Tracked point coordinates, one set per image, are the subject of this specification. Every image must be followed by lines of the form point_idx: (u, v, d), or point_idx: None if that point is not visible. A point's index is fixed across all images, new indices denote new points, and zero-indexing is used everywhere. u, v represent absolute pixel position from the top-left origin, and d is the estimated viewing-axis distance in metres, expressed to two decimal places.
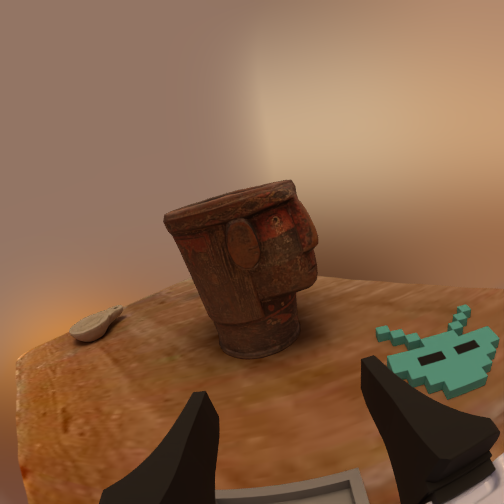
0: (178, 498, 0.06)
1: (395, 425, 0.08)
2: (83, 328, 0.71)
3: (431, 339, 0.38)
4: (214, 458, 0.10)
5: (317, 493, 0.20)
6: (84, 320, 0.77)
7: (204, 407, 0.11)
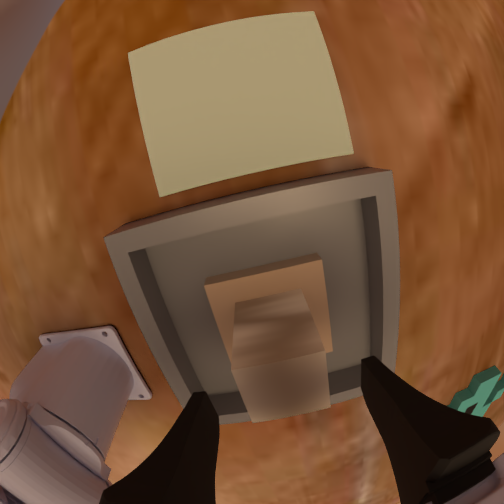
0: (178, 498, 0.06)
1: (395, 425, 0.08)
2: None
3: (483, 412, 0.25)
4: (214, 458, 0.10)
5: (373, 334, 0.19)
6: None
7: (204, 407, 0.11)
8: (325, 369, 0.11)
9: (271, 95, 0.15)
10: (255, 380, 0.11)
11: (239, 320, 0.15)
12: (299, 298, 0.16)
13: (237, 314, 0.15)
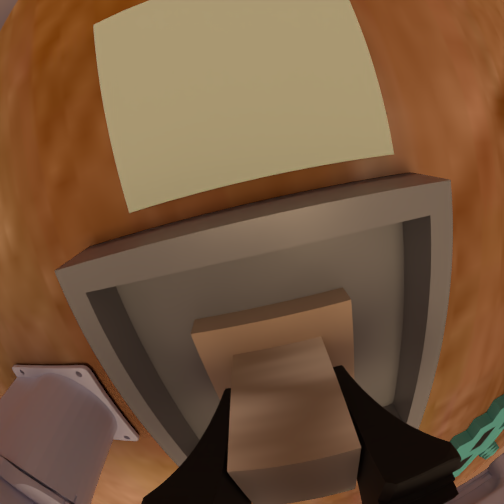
0: (225, 499, 0.06)
1: None
2: None
3: (498, 433, 0.20)
4: None
5: (401, 378, 0.14)
6: None
7: None
8: (356, 462, 0.07)
9: (283, 70, 0.10)
10: (261, 479, 0.07)
11: (238, 386, 0.10)
12: (320, 354, 0.11)
13: (236, 375, 0.11)
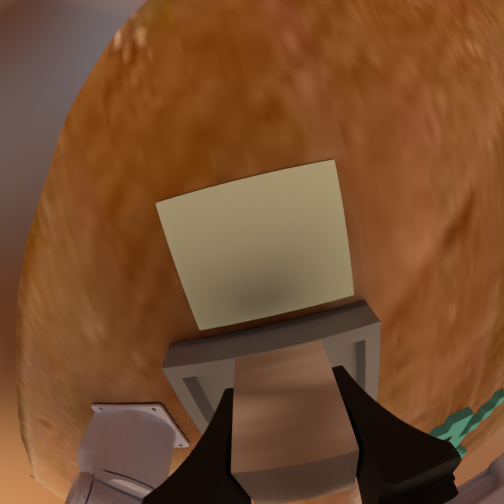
0: (224, 499, 0.06)
1: None
2: None
3: (459, 440, 0.29)
4: None
5: None
6: None
7: None
8: (355, 463, 0.07)
9: (290, 255, 0.19)
10: (263, 479, 0.07)
11: (241, 390, 0.10)
12: (320, 357, 0.11)
13: (238, 379, 0.11)
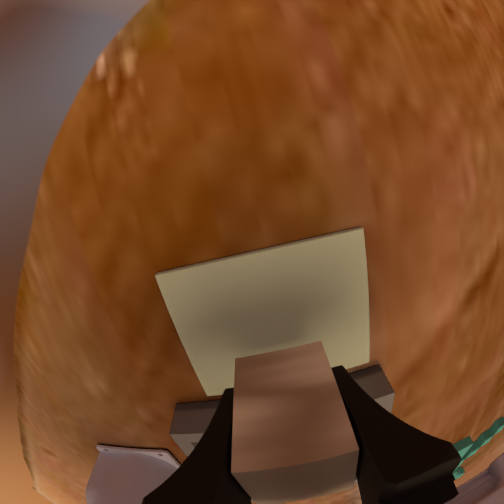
0: (225, 499, 0.06)
1: None
2: None
3: None
4: None
5: None
6: None
7: None
8: (355, 463, 0.07)
9: (306, 330, 0.17)
10: (263, 479, 0.07)
11: (241, 390, 0.10)
12: (320, 358, 0.11)
13: (238, 379, 0.11)
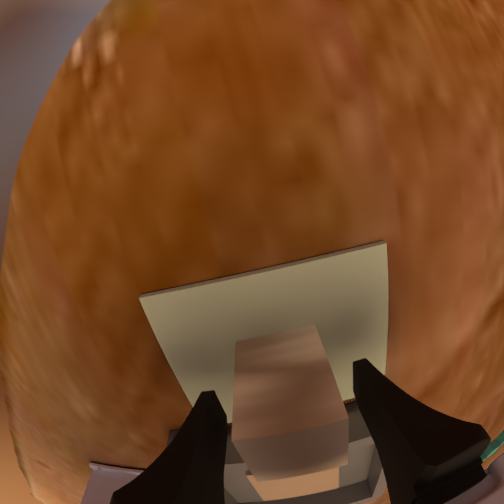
0: (190, 499, 0.06)
1: (385, 429, 0.08)
2: None
3: None
4: (223, 458, 0.10)
5: (371, 473, 0.18)
6: None
7: (213, 406, 0.11)
8: (346, 434, 0.08)
9: None
10: (261, 449, 0.08)
11: (241, 368, 0.12)
12: (313, 339, 0.12)
13: (238, 359, 0.12)
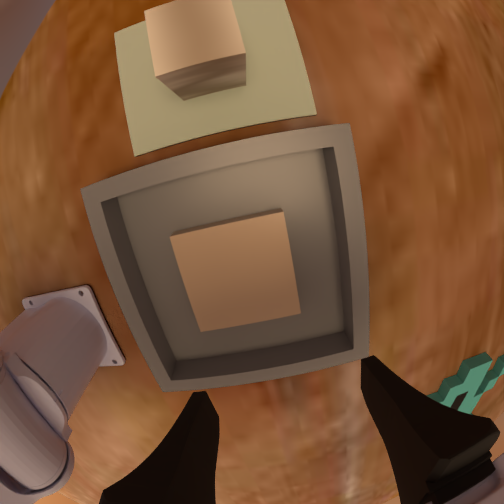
0: (178, 498, 0.06)
1: (395, 425, 0.08)
2: None
3: (474, 403, 0.25)
4: (214, 458, 0.10)
5: (344, 298, 0.19)
6: None
7: (204, 407, 0.11)
8: (230, 4, 0.09)
9: None
10: (163, 16, 0.09)
11: None
12: None
13: None
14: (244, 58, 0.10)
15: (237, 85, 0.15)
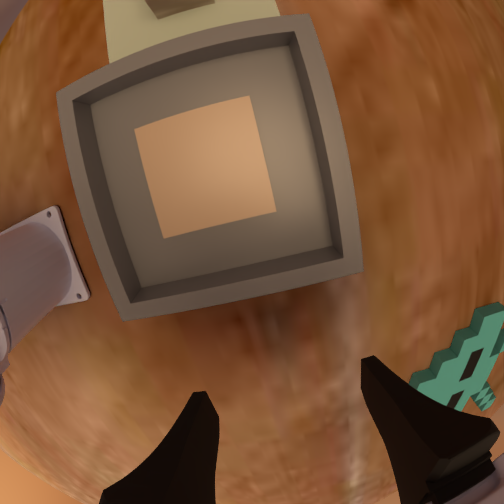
0: (178, 498, 0.06)
1: (395, 425, 0.08)
2: None
3: (490, 365, 0.23)
4: (214, 458, 0.10)
5: (327, 199, 0.17)
6: None
7: (204, 407, 0.11)
8: None
9: None
10: None
11: None
12: None
13: None
14: None
15: (206, 2, 0.13)
